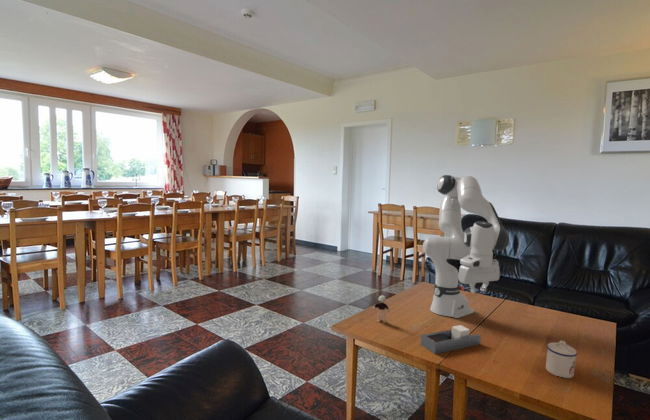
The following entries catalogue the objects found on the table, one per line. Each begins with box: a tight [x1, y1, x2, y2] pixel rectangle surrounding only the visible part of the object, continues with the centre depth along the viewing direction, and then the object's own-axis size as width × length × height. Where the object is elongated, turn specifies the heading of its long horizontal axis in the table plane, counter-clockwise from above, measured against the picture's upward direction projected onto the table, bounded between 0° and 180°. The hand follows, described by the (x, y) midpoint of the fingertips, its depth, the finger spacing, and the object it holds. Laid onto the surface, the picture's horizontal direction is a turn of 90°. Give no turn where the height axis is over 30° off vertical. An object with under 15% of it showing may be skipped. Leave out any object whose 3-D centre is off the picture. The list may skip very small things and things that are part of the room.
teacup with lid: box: [545, 340, 578, 379], centre depth 132 cm, size 12×9×12 cm
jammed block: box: [451, 324, 471, 339], centre depth 152 cm, size 5×5×5 cm
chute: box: [420, 326, 482, 355], centre depth 150 cm, size 24×9×4 cm, turn 114°
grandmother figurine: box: [372, 294, 390, 324], centre depth 171 cm, size 8×4×13 cm, turn 84°
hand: (478, 291), depth 154 cm, fingers open, 4 cm apart
